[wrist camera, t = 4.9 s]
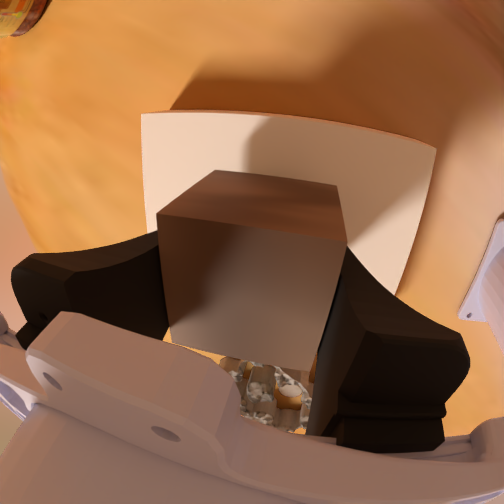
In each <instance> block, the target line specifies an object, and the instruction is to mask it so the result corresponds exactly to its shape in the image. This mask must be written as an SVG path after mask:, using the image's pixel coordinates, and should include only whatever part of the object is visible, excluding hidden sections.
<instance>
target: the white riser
mask: <svg viewBox="0 0 504 504" xmlns="http://www.w3.org/2000/svg"><path fill="white" fill-rule="evenodd" d="M141 136H142V166H143V184H144V199H145V211H146V222H147V232H148V233H150V232H153V231H156V230H157V220H156V213H157V212H159V211H160V210H161V209H162V208H164V207H165V206H166V205H168V204H169V203H170V202H171V201H173V200H174V199H175V198H177V197H178V196H179V195H181V194H182V193H183V192H185V191H186V190H187V189H189V188H190V187H191V186H193V185H194V184H196V183H197V182H198V181H200V180H201V179H202V178H204V177H205V176H207V175H208V174H209V173H211V172H212V171H214V170H225V171H235V172H244V173H253V174H261V175H270V176H277V177H285V178H292V179H299V180H306V181H312V182H318V183H325V184H331V185H336V186H337V189H338V194H339V198H340V203H341V208H342V213H343V219H344V224H345V230H346V235H347V241H348V243H347V246H348V247H349V249H350V250H351V251H352V252H353V254H354V255H355V256H356V257H357V259H358V260H359V261H360V262H361V263H362V264H363V266H364V267H365V268H366V269H367V270H368V271H369V272H370V273H371V274H372V275H373V276H374V277H375V279H376V280H377V281H378V282H379V283H381V284H382V285H383V286H384V287H385V288H386V289H387V290H388V291H390V292H391V293H392V294H393V295H395V292H396V290H397V287H398V285H399V282H400V279H401V277H402V274H403V271H404V268H405V265H406V263H407V260H408V257H409V254H410V251H411V248H412V245H413V242H414V238H415V235H416V232H417V229H418V225H419V222H420V218H421V215H422V211H423V208H424V204H425V200H426V196H427V192H428V188H429V184H430V180H431V175H432V171H433V166H434V161H435V156H436V151H437V148H435V147H432V146H430V145H428V144H426V143H424V142H421V141H419V140H416V139H413V138H409V137H405V136H401V135H397V134H393V133H389V132H385V131H380V130H376V129H371V128H367V127H362V126H357V125H351V124H346V123H340V122H334V121H328V120H322V119H315V118H308V117H300V116H292V115H283V114H273V113H261V112H248V111H229V110H165V111H158V112H151V113H144V114H141Z"/></svg>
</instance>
